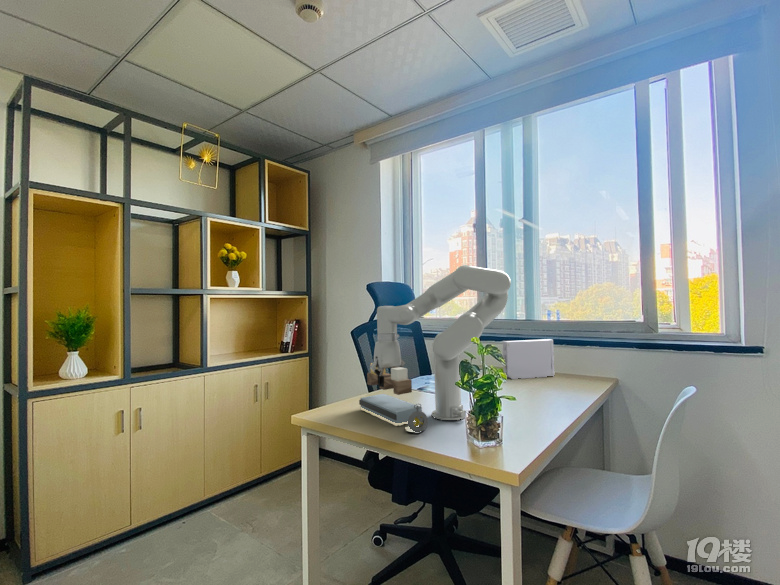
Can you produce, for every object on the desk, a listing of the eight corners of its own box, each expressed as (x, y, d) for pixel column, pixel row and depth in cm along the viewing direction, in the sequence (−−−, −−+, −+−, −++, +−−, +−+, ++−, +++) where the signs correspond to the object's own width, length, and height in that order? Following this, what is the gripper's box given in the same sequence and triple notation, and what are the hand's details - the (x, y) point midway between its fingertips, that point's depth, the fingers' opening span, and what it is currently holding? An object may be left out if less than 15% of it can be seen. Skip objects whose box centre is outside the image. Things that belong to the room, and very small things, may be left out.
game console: (556, 376, 208) (554, 339, 208) (508, 379, 204) (507, 342, 204) (550, 374, 213) (548, 338, 214) (503, 377, 210) (502, 341, 210)
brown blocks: (411, 392, 139) (411, 379, 139) (398, 394, 136) (397, 382, 136) (380, 382, 158) (379, 371, 158) (367, 384, 154) (367, 373, 155)
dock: (422, 420, 139) (421, 406, 139) (395, 427, 132) (395, 412, 132) (383, 405, 160) (383, 393, 161) (359, 410, 154) (359, 398, 154)
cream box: (407, 379, 140) (407, 368, 140) (397, 381, 138) (397, 370, 138) (400, 377, 144) (400, 367, 144) (391, 379, 141) (390, 368, 141)
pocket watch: (412, 426, 133) (411, 397, 133) (432, 431, 128) (431, 400, 128) (397, 433, 127) (396, 402, 127) (418, 438, 121) (417, 406, 122)
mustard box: (385, 373, 153) (385, 363, 153) (376, 375, 150) (375, 364, 150) (379, 372, 156) (379, 362, 156) (370, 373, 154) (370, 363, 154)
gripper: (400, 335, 155) (401, 380, 155) (362, 338, 146) (364, 386, 145) (411, 336, 149) (412, 383, 148) (372, 340, 139) (374, 390, 139)
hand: (388, 384), depth 147 cm, fingers closed on brown blocks, 6 cm apart
